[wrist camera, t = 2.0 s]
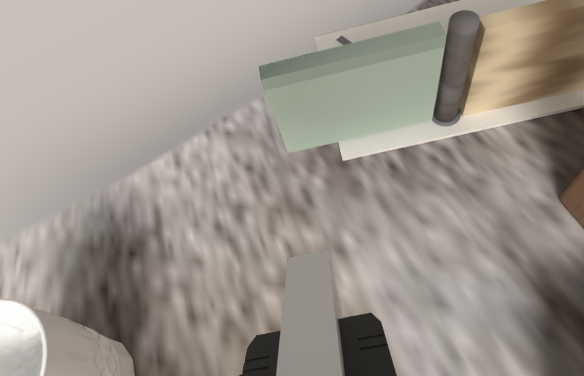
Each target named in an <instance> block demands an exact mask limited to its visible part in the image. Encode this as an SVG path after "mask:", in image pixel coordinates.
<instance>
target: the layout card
mask: <svg viewBox="0 0 584 376" xmlns="http://www.w3.org/2000/svg"><path fill="white" fill-rule="evenodd" d="M541 1H545V0H459V1H455V2H451V3H447V4H443V5H439V6H435V7H431V8H427V9H424V10H420V11H416V12H412V13H408V14H404V15H400V16H396V17H392V18H388V19H384V20H380V21H376V22H372V23H368V24H364V25H360V26H356V27H352V28H349V29H344V30H341V31H337V32H333V33H329V34H325V35H321V36H317V37H314V40H315V44H316V49H317V52H318V51H322V50H326V49H330V48H334V47H338V46H342V45H346V44H350V43H354V42H358V41H362V40H366V39H370V38H374V37H378V36H382V35H386V34H390V33H394V32H398V31H402V30H406V29H410V28H414V27H418V26H422V25H426V24H430V23H434V22H438V21H440V22H441V25H442V27H443V29H444V31H445V33H446V37H447V30H448V24H449V19H450V17H451V15H452V14H454V13H455V12H458V11H461V10H469V11H473V12H475V13H476V14H477V15H478V16H479V17H480V16H484V15H488V14H492V13H496V12H501V11H505V10H509V9H513V8H517V7H521V6H525V5H529V4H533V3H537V2H541ZM445 43H446V40H445ZM444 49H445V46H444ZM443 55H444V50H443ZM442 61H443V56H442ZM441 67H442V62H441ZM440 73H441V68H440ZM439 79H440V75H439ZM438 85H439V81H438ZM437 91H438V87H437ZM436 97H437V93H436ZM435 103H436V99H435ZM581 108H584V90H580V91H575V92H571V93H566V94H562V95H558V96H553V97H549V98H544V99H540V100H535V101H531V102H526V103H522V104H517V105H513V106H509V107H504V108H500V109H495V110H491V111H486V112H482V113H477V114H473V115H468V116H464V117H462V115H461V114H462V113H461V111H460V109H458V113H457V117H456V118H455V119H454V120H453V121H451V122H448V123H443V122H440V121H438V120H437V119H436V118H435V117H434V111H433V118H432V121H429V122H425V123H420V124H416V125H411V126H407V127H403V128H398V129H394V130H389V131H385V132H380V133H376V134H371V135H367V136H363V137H358V138H354V139H349V140H345V141H340V142H338V143H339V147H340V152H341V156H342V160H343V161H345V160H349V159H354V158H358V157H363V156H367V155H372V154H376V153H381V152H385V151H390V150H394V149H399V148H404V147H408V146H413V145H417V144H422V143H426V142H431V141H435V140H440V139H444V138H449V137H453V136H458V135H463V134H467V133H472V132H476V131H481V130H485V129H490V128H494V127H499V126H503V125H508V124H513V123H517V122H522V121H526V120H531V119H535V118H540V117H544V116H549V115H553V114H558V113H562V112H567V111H572V110H576V109H581ZM434 109H435V105H434Z"/></svg>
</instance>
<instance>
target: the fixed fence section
mask: <svg viewBox="0 0 584 376" xmlns="http://www.w3.org/2000/svg"><path fill="white" fill-rule="evenodd" d="M580 90H584V0H545V1H541V2H537V3H533V4H529V5H525V6H521V7H517V8H513V9H509V10H505V11H501V12H496V13H492V14H488V15H484V16H480V17H479V16H478V15H477V14H476V13H475V12H473V11H469V10H461V11H458V12H455V13H454V14H452V15H451V17H450V19H449V24H448V30H447V37H446V43H445V49H444V55H443V61H442V67H441V73H440V79H439V85H438V91H437V97H436V103H435V109H434V117H435V118H436V119H437V120H438V121H440V122H443V123H448V122H451V121H453V120H454V119H455V118H456V117H457V113H458V109H460V111H461V113H462V114H461V115H462V117H464V116H468V115H473V114H477V113H482V112H486V111H491V110H495V109H500V108H504V107H509V106H513V105H517V104H522V103H526V102H531V101H535V100H540V99H544V98H549V97H553V96H558V95H562V94H566V93H571V92H575V91H580Z"/></svg>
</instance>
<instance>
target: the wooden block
mask: <svg viewBox="0 0 584 376" xmlns="http://www.w3.org/2000/svg"><path fill="white" fill-rule="evenodd" d="M560 200H561V202H562V203H563V204H564V206H565V207H566V208H567V209H568V210H569V211H570V213H571V214H572V215H573V216H574V217H575V218H576V219H577V221H578V222H579V223H580V224H581V225H582V226H583V228H584V168H583V169H582V171H581V172H580V173H579V174H578V176H577V177H576V178H575V179H574V180H573V182H572V183H571V184H570V185H569V187H568V188H567V189H566V190H565V192H564V193H563V194H562V195H561V197H560Z"/></svg>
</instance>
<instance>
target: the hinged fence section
mask: <svg viewBox="0 0 584 376" xmlns="http://www.w3.org/2000/svg"><path fill="white" fill-rule="evenodd" d="M445 40H446V33H445V31H444V29H443V27H442V25H441V22H440V21H438V22H434V23H430V24H426V25H422V26H418V27H414V28H410V29H406V30H402V31H398V32H394V33H390V34H386V35H382V36H378V37H374V38H370V39H366V40H362V41H358V42H354V43H350V44H346V45H342V46H338V47H334V48H330V49H326V50H322V51H318V52H314V53H310V54H306V55H302V56H298V57H294V58H290V59H286V60H282V61H278V62H274V63H270V64H266V65H262V66H259V70H260V78H261V82H262V85H263V87H264V90H265V92H266V95H267V98H268V101H269V103H270V106H271V109H272V111H273V114H274V117H275V119H276V122H277V125H278V127H279V130H280V133H281V135H282V138H283V141H284V143H285V146H286V149H287V151H288V153H292V152H296V151H300V150H305V149H309V148H314V147H318V146H323V145H327V144H331V143H336V142H340V141H345V140H349V139H354V138H358V137H363V136H367V135H371V134H376V133H380V132H385V131H389V130H394V129H398V128H403V127H407V126H411V125H416V124H420V123H425V122H429V121H432V118H433V111H434V105H435V99H436V93H437V87H438V81H439V75H440V68H441V62H442V56H443V50H444V46H445Z"/></svg>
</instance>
